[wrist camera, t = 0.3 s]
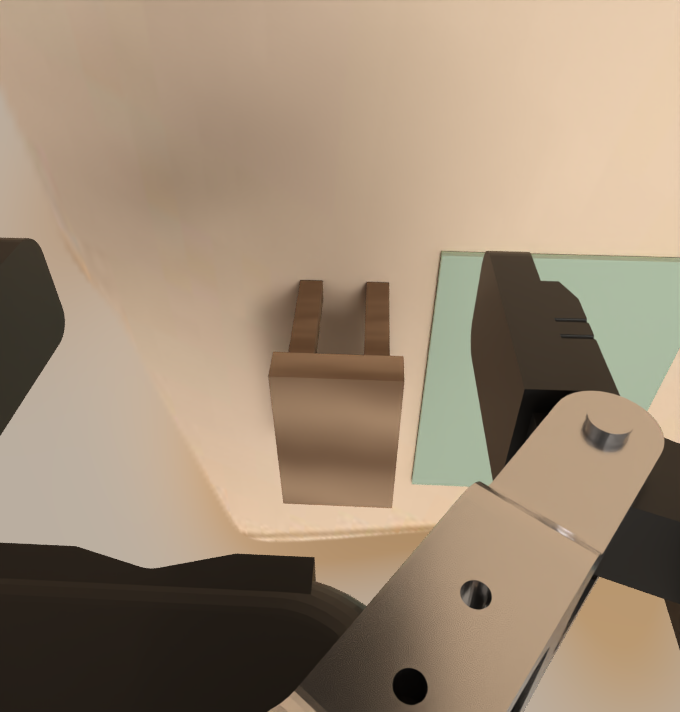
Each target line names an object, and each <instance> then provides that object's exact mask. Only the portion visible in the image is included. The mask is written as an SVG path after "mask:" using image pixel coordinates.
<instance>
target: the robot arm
mask: <svg viewBox="0 0 680 712" xmlns="http://www.w3.org/2000/svg"><path fill="white" fill-rule="evenodd" d="M64 327H65V319H64V312H63V308H62V305H61V302H60V300H59V297H58V294H57V291H56V288H55V286H54V283H53V280H52V277H51V274H50V272H49V269H48V266H47V263H46V260H45V258H44V255H43V252H42V250H41V248H40V246H39V245H38V243H37V242H36V241H35V240H33V239H29V238H0V435H1V434H2V432H3V430H4V429H5V427H6V426H7V424H8V423H9V421H10V420H11V418H12V417H13V415H14V414H15V412H16V410H17V409H18V407H19V406H20V404H21V403H22V401H23V400H24V398H25V396H26V395H27V393H28V392H29V390H30V389H31V387H32V385H33V384H34V382H35V381H36V379H37V378H38V376H39V375H40V373H41V372H42V370H43V369H44V367H45V365H46V364H47V362H48V361H49V359H50V358H51V356H52V355H53V353H54V351H55V350H56V348H57V347H58V345H59V344H60V342H61V340H62V337H63V333H64ZM471 358H472V364H473V369H474V375H475V381H476V387H477V393H478V398H479V404H480V410H481V416H482V422H483V427H484V433H485V439H486V445H487V451H488V456H489V462H490V468H491V474H492V480H493V482H492V483H491V484H490V485H488V486H487V485H486V484H484V483H482V482H480V481H478V482H475V483H474V484H472V485H471V486H470V487H469V488H468V489H467V490H466V491H465V492H464V493H463V494H462V495H461V496H460V498H459V499H458V500H457V501H456V502H455V503H454V505H453V506H452V507H451V508H450V509H449V510H448V512H447V513H446V514H445V515H444V516H443V517H442V519H441V520H440V521H439V522H438V523H437V524H436V526H435V527H434V528H433V529H432V530H431V532H430V533H429V534H428V535H427V537H425V539H424V540H423V541H422V542H421V543H420V545H419V546H418V547H417V548H416V549H415V550H414V552H413V553H412V554H411V555H410V556H409V557H408V559H407V560H406V561H405V562H404V563H403V564H402V566H401V567H400V568H399V569H398V570H397V572H396V573H395V574H394V575H393V576H392V577H391V578H390V580H389V581H388V582H387V583H386V584H385V585H384V587H383V588H382V589H381V590H380V591H379V593H378V594H377V595H376V596H375V597H374V598H373V600H372V601H371V602H370V603H369V604H368V605H367V606H366V605H364V604H363V603H361V602H359V601H358V600H356V599H355V598H353V597H351V596H349V595H348V594H346V593H344V592H342V591H340V590H337V589H335V588H333V587H331V586H327V585H325V584H321V583H318V582H316V579H315V560H314V557H295V556H274V555H273V556H272V555H252V554H232V555H226V556H221V557H216V558H210V559H205V560H199V561H194V562H189V563H183V564H178V565H172V566H167V567H161V568H154V569H149V568H143V567H139V566H135V565H133V564H130V563H127V562H123V561H120V560H117V559H114V558H111V557H108V556H105V555H101V554H98V553H95V552H92V551H89V550H86V549H83V548H80V547H76V546H59V545H37V544H16V543H0V712H524V710H525V708H526V706H527V705H528V703H529V701H530V699H531V697H532V695H533V693H534V691H535V690H536V688H537V686H538V684H539V682H540V680H541V678H542V676H543V675H544V673H545V671H546V669H547V667H548V666H549V664H550V662H551V660H552V658H553V657H554V655H555V653H556V652H557V650H558V648H559V646H560V645H561V643H562V641H563V639H564V638H565V636H566V634H567V632H568V631H569V629H570V627H571V625H572V624H573V622H574V620H575V618H576V616H577V615H578V613H579V611H580V610H581V608H582V606H583V604H584V603H585V601H586V599H587V597H588V596H589V594H590V592H591V590H592V588H593V587H594V585H595V583H596V581H597V579H598V578H599V577H602V578H605V579H608V580H611V581H614V582H616V583H619V584H623V585H626V586H628V587H631V588H634V589H637V590H640V591H643V592H646V593H649V594H652V595H655V596H657V597H660V598H663V599H664V600H665V603H666V606H667V610H668V613H669V616H670V619H671V623H672V626H673V629H674V632H675V636H676V638H677V642H678V645H679V648H680V444H679V443H676V442H673V441H671V440H669V439H666V438H664V436H663V432H662V430H661V428H660V426H659V424H658V423H657V421H656V420H655V419H654V418H653V417H652V416H651V415H650V414H649V413H648V412H647V411H646V410H645V409H643V408H642V407H640V406H639V405H637V404H636V403H634V402H632V401H630V400H628V399H626V398H624V397H621V396H620V394H619V392H618V389H617V387H616V385H615V382H614V380H613V378H612V375H611V373H610V371H609V368H608V366H607V364H606V361H605V359H604V357H603V355H602V352H601V350H600V348H599V345H598V343H597V341H596V339H594V334H593V331H592V329H591V327H590V324H589V323H587V317H586V315H585V313H584V310H583V308H582V306H581V303H580V301H579V299H578V298H577V297H576V296H575V295H574V294H573V293H571V292H570V291H569V290H568V289H567V288H566V287H565V286H564V285H562V284H561V283H560V282H559V281H541V280H540V277H539V274H538V272H537V269H536V266H535V263H534V260H533V258H532V255H531V254H530V253H529V252H505V251H486V252H485V254H484V257H483V261H482V266H481V272H480V278H479V284H478V290H477V296H476V301H475V307H474V313H473V319H472V326H471Z"/></svg>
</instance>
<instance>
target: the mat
mask: <svg viewBox="0 0 680 712" xmlns="http://www.w3.org/2000/svg"><path fill="white" fill-rule="evenodd" d="M484 254H485V253H484V252H447V251H442V252H441V260H440V268H439V275H438V283H437V291H436V298H435V306H434V313H433V321H432V329H431V336H430V344H429V352H428V359H427V367H426V375H425V382H424V390H423V398H422V405H421V413H420V421H419V428H418V436H417V444H416V451H415V459H414V467H413V474H412V484H421V485H444V486H468V487H470V486H471V485H472V484H474V483H475V482H478V481H480V482H482V483H484V484H486V485H487V486H488V485H490V484H491V483H492V482H493V480H492V474H491V468H490V462H489V456H488V451H487V445H486V439H485V433H484V427H483V422H482V416H481V410H480V404H479V398H478V393H477V387H476V381H475V375H474V369H473V364H472V358H471V326H472V319H473V313H474V307H475V301H476V296H477V290H478V284H479V278H480V272H481V266H482V261H483V257H484ZM531 255H532V258H533V260H534V263H535V266H536V269H537V272H538V274H539V277H540V280H541V281H559V282H560V283H561V284H562V285H564V286H565V287H566V288H567V289H568V290H569V291H570V292H571V293H573V294H574V295H575V296H576V297H577V298H578V299H579V301H580V303H581V306H582V308H583V310H584V313H585V315H586V317H587V323H589V324H590V327H591V329H592V331H593V334H594V339H596V341H597V343H598V345H599V348H600V350H601V352H602V355H603V357H604V359H605V361H606V364H607V366H608V368H609V371H610V373H611V375H612V378H613V380H614V382H615V385H616V387H617V389H618V392H619V394H620V396H621V397H624V398H626V399H628V400H630V401H632V402H634V403H636V404H637V405H639V406H640V407H642V408H643V409H645V410H646V411H648V409H649V407H650V405H651V403H652V401H653V399H654V397H655V395H656V393H657V391H658V389H659V387H660V385H661V383H662V381H663V379H664V378H665V376H666V374H667V372H668V370H669V368H670V366H671V364H672V362H673V360H674V358H675V356H676V354H677V352H678V350H679V348H680V258H670V257H633V256H595V255H558V254H531Z"/></svg>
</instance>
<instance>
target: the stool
mask: <svg viewBox="0 0 680 712" xmlns="http://www.w3.org/2000/svg"><path fill="white" fill-rule="evenodd" d="M322 303H323V281H310V280H301V281H300V287H299V293H298V299H297V305H296V311H295V316H294V322H293V328H292V334H291V340H290V346H289V352H273V356H272V361H271V366H270V371H269V376H268V377H269V386H270V394H271V403H272V411H273V419H274V428H275V436H276V445H277V453H278V461H279V470H280V478H281V487H282V495H283V503H287V504H309V505H332V506H355V507H377V508H392V501H393V491H394V481H395V471H396V460H397V450H398V440H399V430H400V419H401V409H402V399H403V389H404V358H403V356H390V349H389V283H379V282H367V290H366V318H365V346H364V355H347V354H317V345H318V337H319V328H320V320H321V312H322Z"/></svg>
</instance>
